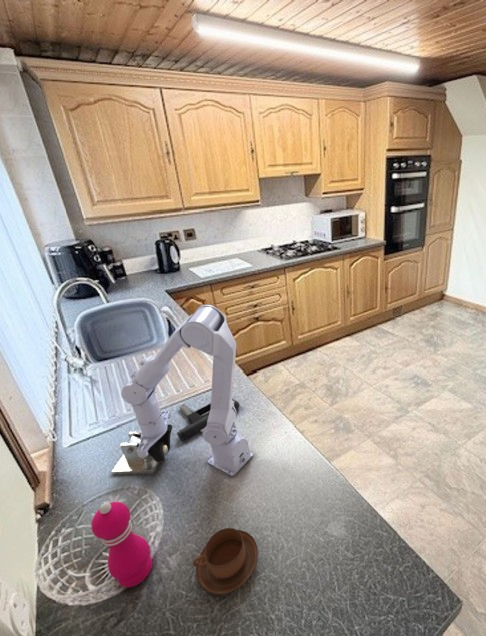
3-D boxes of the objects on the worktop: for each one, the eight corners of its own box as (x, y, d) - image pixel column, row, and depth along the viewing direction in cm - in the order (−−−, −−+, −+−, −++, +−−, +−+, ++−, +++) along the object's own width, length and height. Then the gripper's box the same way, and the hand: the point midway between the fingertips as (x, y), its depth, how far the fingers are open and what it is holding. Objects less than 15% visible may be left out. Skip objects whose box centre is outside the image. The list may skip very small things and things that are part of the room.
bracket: (168, 447, 100) (161, 425, 96) (153, 473, 92) (145, 450, 88) (130, 448, 100) (121, 426, 96) (112, 474, 92) (102, 451, 88)
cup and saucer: (210, 614, 63) (203, 596, 60) (190, 559, 72) (183, 540, 69) (269, 570, 69) (265, 552, 66) (244, 524, 78) (240, 506, 75)
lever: (169, 450, 96) (170, 442, 95) (164, 459, 93) (165, 451, 92) (132, 441, 95) (133, 433, 93) (126, 450, 92) (127, 442, 91)
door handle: (160, 413, 109) (181, 436, 98) (218, 384, 122) (242, 402, 111) (163, 421, 111) (184, 445, 100) (219, 392, 123) (244, 411, 112)
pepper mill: (145, 544, 75) (116, 480, 66) (161, 567, 71) (133, 501, 62) (109, 573, 70) (73, 508, 61) (125, 599, 66) (88, 533, 57)
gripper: (147, 398, 95) (160, 435, 101) (118, 438, 82) (135, 478, 88) (173, 398, 95) (184, 435, 101) (147, 437, 82) (162, 477, 88)
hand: (163, 455), depth 95 cm, fingers closed on lever, 3 cm apart
